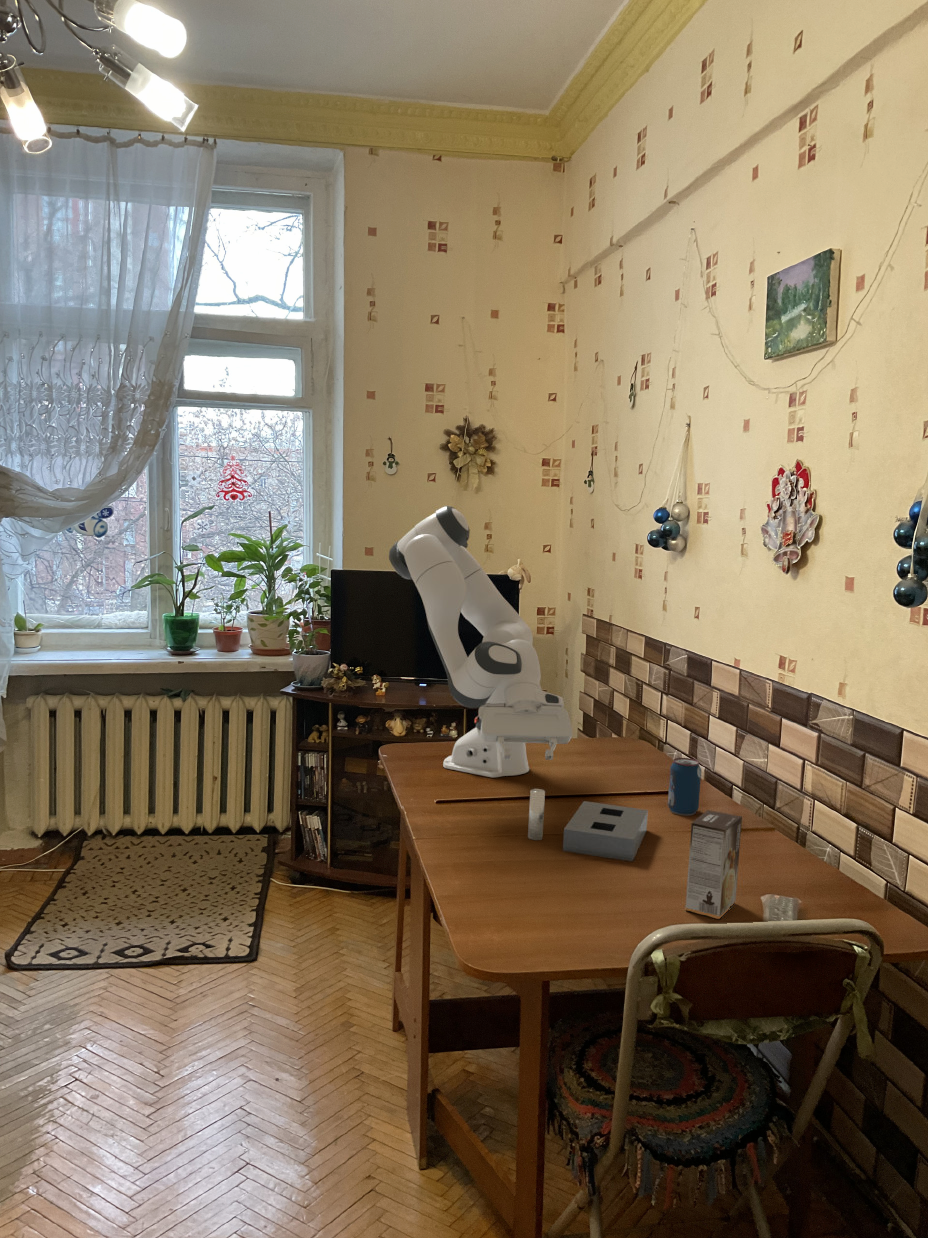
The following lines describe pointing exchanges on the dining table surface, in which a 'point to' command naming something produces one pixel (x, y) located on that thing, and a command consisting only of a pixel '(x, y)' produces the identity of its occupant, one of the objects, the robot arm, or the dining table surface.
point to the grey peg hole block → (605, 831)
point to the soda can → (684, 786)
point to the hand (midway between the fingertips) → (528, 758)
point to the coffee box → (713, 862)
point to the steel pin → (536, 814)
